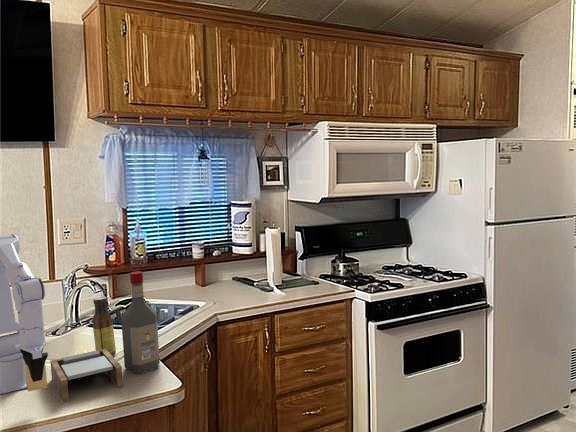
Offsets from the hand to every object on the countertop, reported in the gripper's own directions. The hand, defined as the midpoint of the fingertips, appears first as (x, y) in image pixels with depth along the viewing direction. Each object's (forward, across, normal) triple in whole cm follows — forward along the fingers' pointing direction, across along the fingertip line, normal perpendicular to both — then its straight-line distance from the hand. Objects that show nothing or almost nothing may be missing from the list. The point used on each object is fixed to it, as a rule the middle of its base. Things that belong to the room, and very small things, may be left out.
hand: (35, 377), depth 135 cm
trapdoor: (+5, -10, +14) cm, 18 cm away
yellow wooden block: (+2, 0, 0) cm, 2 cm away
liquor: (+9, -12, +31) cm, 34 cm away
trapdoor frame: (+9, -10, +14) cm, 19 cm away
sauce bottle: (+9, -29, +24) cm, 39 cm away
